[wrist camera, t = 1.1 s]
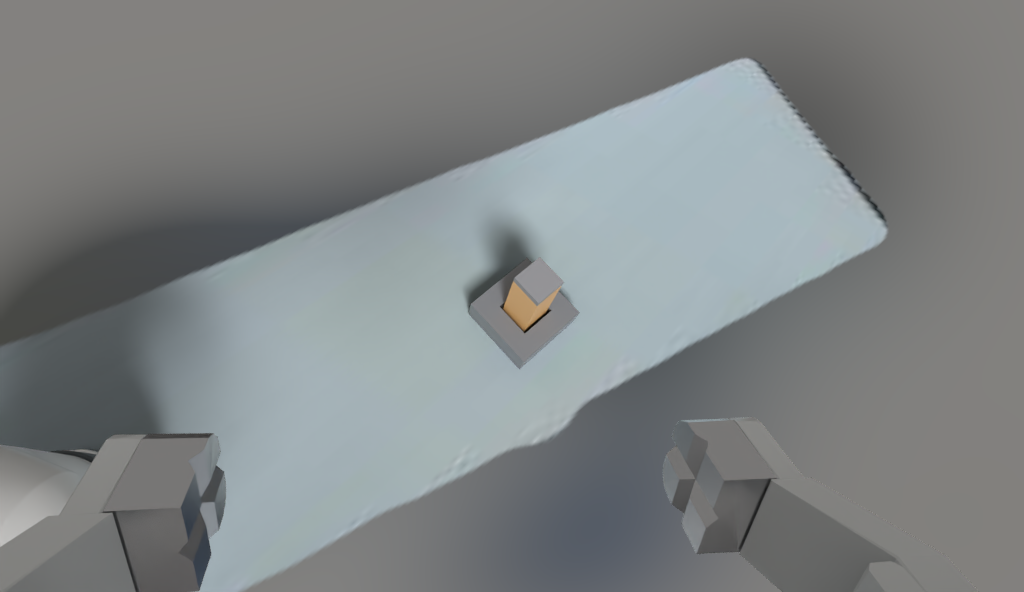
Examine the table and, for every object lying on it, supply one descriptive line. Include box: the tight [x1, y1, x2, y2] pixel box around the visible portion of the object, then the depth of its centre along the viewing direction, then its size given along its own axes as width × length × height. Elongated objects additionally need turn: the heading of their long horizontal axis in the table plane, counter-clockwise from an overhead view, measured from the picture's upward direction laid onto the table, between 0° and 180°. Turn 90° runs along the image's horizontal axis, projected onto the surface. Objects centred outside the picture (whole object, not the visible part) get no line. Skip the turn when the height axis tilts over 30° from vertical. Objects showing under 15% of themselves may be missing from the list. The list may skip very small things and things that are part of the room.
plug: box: [503, 257, 564, 333], centre depth 74 cm, size 4×4×14 cm
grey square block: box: [469, 258, 579, 369], centre depth 78 cm, size 10×10×4 cm
